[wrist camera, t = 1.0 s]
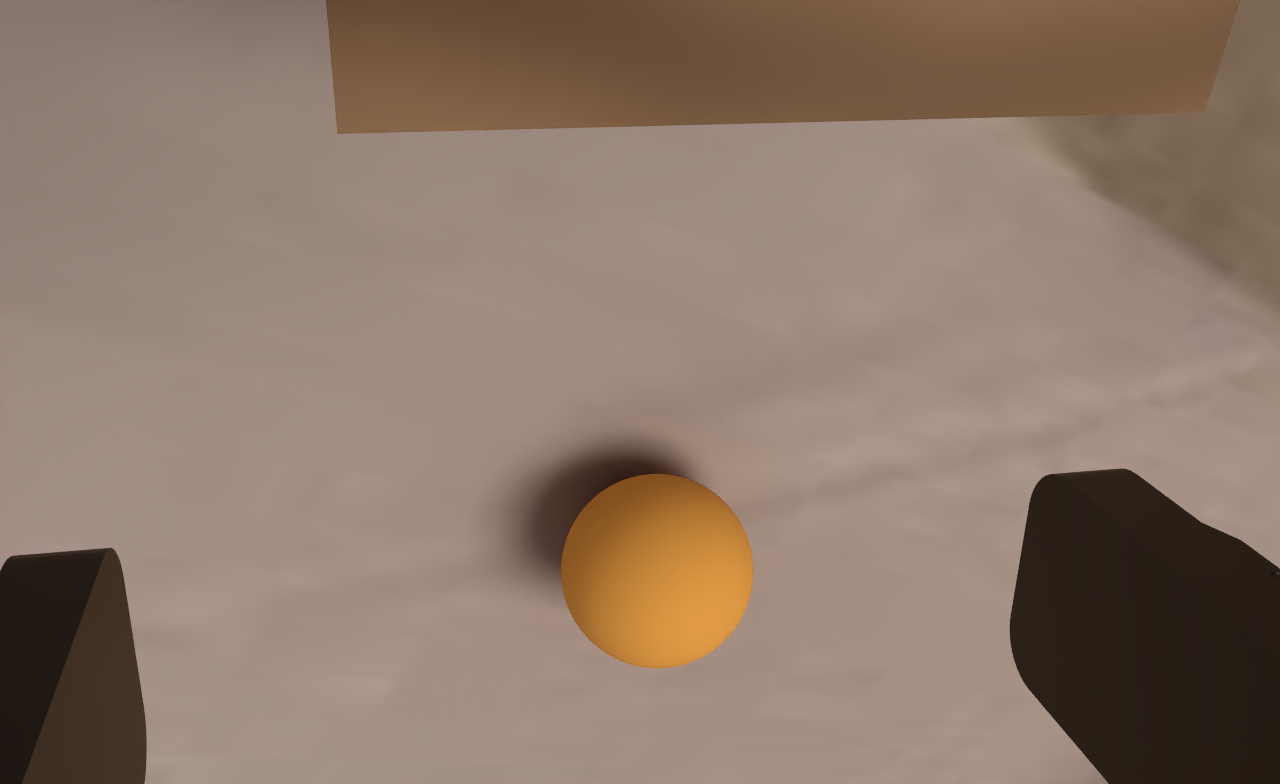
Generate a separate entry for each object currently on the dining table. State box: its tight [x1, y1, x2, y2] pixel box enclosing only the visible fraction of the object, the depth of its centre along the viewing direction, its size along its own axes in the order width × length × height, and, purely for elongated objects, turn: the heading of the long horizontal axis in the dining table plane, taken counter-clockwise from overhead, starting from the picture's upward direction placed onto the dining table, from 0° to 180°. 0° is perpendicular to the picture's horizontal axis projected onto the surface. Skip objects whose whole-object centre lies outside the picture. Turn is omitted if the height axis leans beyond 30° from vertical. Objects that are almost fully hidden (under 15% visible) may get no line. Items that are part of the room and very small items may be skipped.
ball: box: [561, 474, 753, 668], centre depth 32 cm, size 5×5×5 cm
